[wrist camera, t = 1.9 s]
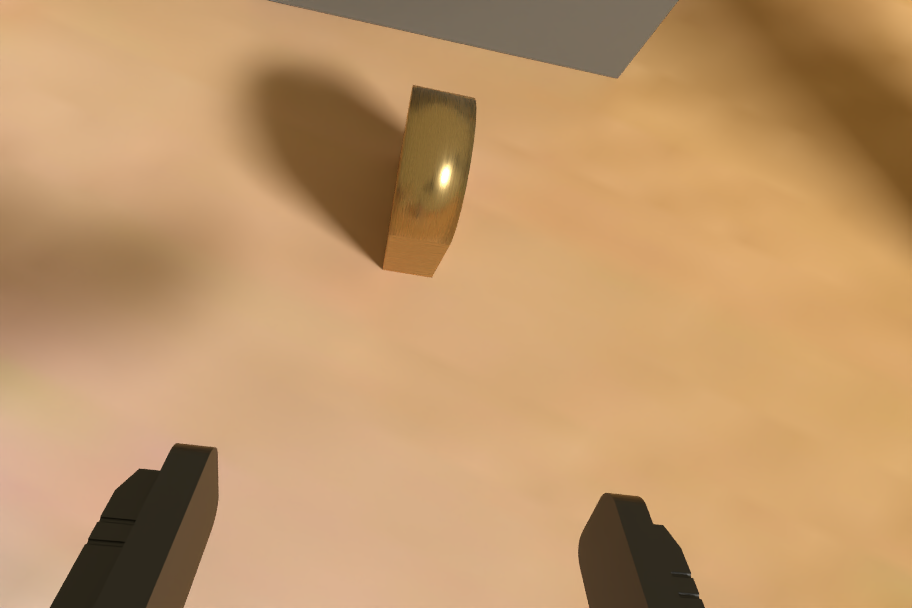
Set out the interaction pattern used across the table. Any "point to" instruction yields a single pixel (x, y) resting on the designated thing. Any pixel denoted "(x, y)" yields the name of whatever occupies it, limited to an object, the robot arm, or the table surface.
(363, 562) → the table surface
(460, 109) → the token
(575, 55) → the coin box
